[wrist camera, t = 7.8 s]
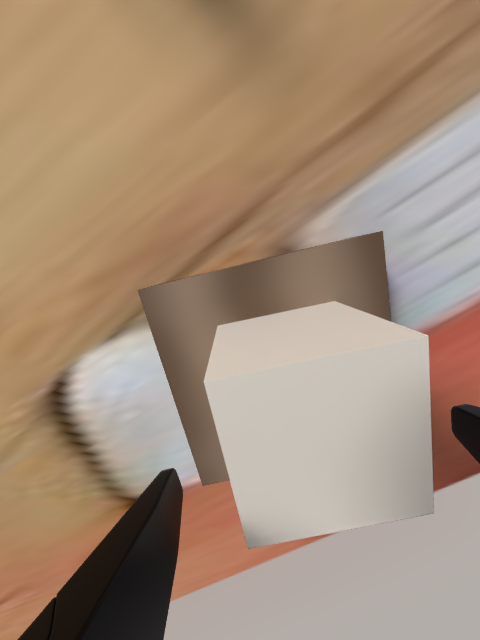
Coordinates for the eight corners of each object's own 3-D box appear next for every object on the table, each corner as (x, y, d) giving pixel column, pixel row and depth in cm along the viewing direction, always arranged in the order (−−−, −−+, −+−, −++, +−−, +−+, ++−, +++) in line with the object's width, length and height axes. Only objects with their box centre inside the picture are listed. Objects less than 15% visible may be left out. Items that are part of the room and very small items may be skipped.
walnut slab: (345, 239, 15) (382, 230, 11) (366, 404, 18) (402, 443, 14) (161, 283, 16) (137, 290, 12) (209, 438, 18) (202, 485, 15)
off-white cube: (334, 301, 12) (428, 335, 6) (347, 405, 14) (434, 513, 8) (217, 325, 12) (203, 381, 6) (241, 427, 14) (248, 548, 8)
